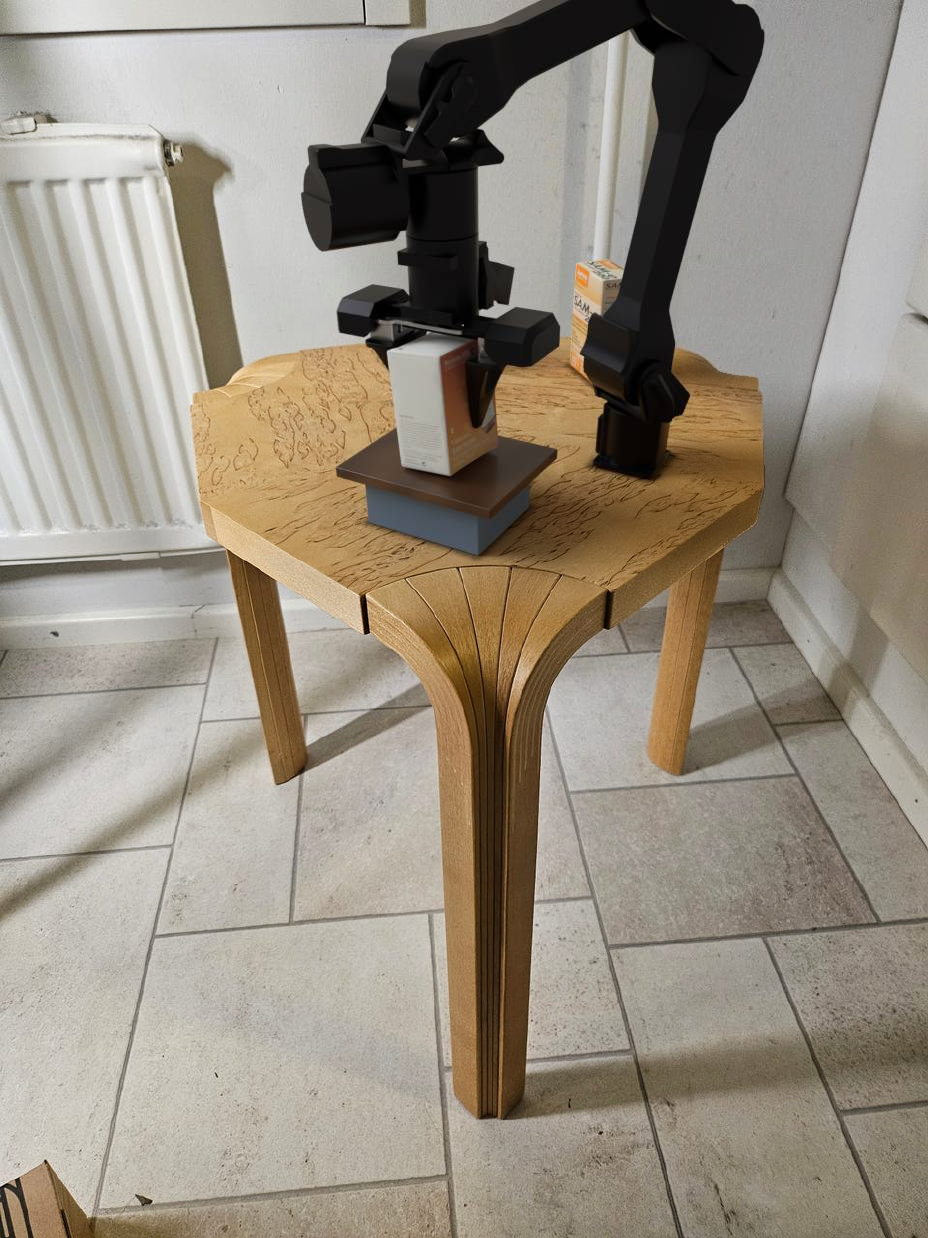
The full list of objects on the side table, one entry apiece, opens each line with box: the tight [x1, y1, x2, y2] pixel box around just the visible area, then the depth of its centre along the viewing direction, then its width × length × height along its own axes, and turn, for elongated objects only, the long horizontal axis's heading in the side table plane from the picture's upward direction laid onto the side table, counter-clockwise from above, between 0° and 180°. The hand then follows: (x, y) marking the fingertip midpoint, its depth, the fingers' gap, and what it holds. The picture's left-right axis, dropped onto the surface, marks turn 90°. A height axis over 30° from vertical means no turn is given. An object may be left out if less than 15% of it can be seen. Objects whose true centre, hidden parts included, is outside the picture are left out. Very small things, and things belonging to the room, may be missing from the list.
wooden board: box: [335, 426, 559, 520], centre depth 79 cm, size 16×13×1 cm
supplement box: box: [569, 258, 624, 385], centre depth 106 cm, size 8×5×13 cm, turn 17°
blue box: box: [364, 483, 531, 556], centre depth 80 cm, size 12×10×5 cm
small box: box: [387, 332, 499, 476], centre depth 75 cm, size 8×6×10 cm
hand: (448, 419), depth 76 cm, fingers closed on small box, 6 cm apart
